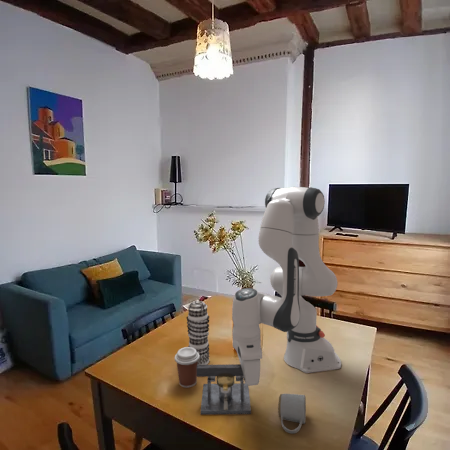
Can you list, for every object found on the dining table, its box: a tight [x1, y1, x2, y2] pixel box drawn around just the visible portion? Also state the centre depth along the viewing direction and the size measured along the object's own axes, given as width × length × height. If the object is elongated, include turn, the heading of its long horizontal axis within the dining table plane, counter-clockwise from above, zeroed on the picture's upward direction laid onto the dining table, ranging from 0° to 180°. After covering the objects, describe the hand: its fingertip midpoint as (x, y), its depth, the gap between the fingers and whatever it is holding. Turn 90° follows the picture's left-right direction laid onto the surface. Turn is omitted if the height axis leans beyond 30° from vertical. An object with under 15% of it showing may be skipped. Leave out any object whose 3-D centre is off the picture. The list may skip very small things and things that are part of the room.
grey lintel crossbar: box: [197, 363, 243, 391], centre depth 110 cm, size 19×9×6 cm, turn 90°
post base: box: [200, 376, 252, 416], centre depth 111 cm, size 16×14×8 cm
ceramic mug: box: [277, 393, 307, 434], centre depth 100 cm, size 11×8×8 cm
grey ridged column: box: [185, 300, 210, 365], centre depth 133 cm, size 9×9×25 cm
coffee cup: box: [174, 346, 200, 388], centre depth 120 cm, size 9×9×12 cm
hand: (246, 380), depth 106 cm, fingers closed
